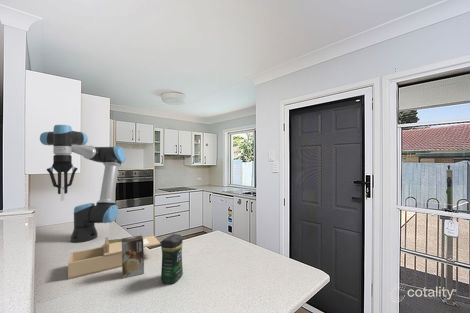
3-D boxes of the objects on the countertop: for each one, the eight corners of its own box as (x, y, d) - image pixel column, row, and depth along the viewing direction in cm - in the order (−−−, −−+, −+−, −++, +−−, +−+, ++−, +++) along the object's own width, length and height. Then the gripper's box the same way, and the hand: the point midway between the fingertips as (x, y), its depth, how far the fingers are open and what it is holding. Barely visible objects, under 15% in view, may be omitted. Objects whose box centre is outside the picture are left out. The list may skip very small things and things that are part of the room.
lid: (103, 246, 118) (103, 237, 118) (154, 236, 132) (154, 228, 132) (104, 255, 106) (104, 246, 106) (160, 244, 120) (160, 235, 120)
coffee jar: (175, 285, 92) (174, 240, 93) (158, 283, 94) (157, 239, 95) (185, 274, 102) (185, 233, 102) (170, 272, 104) (169, 232, 104)
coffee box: (142, 268, 108) (142, 234, 109) (144, 273, 103) (144, 238, 103) (121, 272, 104) (121, 238, 104) (121, 279, 98) (121, 242, 99)
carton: (96, 257, 122) (96, 249, 122) (108, 246, 138) (108, 239, 138) (113, 255, 124) (113, 248, 124) (123, 245, 139) (122, 238, 139)
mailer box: (71, 267, 110) (71, 252, 110) (128, 254, 124) (128, 241, 124) (68, 279, 98) (68, 263, 99) (132, 264, 112) (132, 250, 112)
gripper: (45, 154, 109) (45, 202, 109) (77, 154, 116) (77, 199, 116) (47, 154, 116) (47, 200, 115) (78, 154, 123) (78, 197, 122)
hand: (62, 200), depth 115 cm, fingers closed
